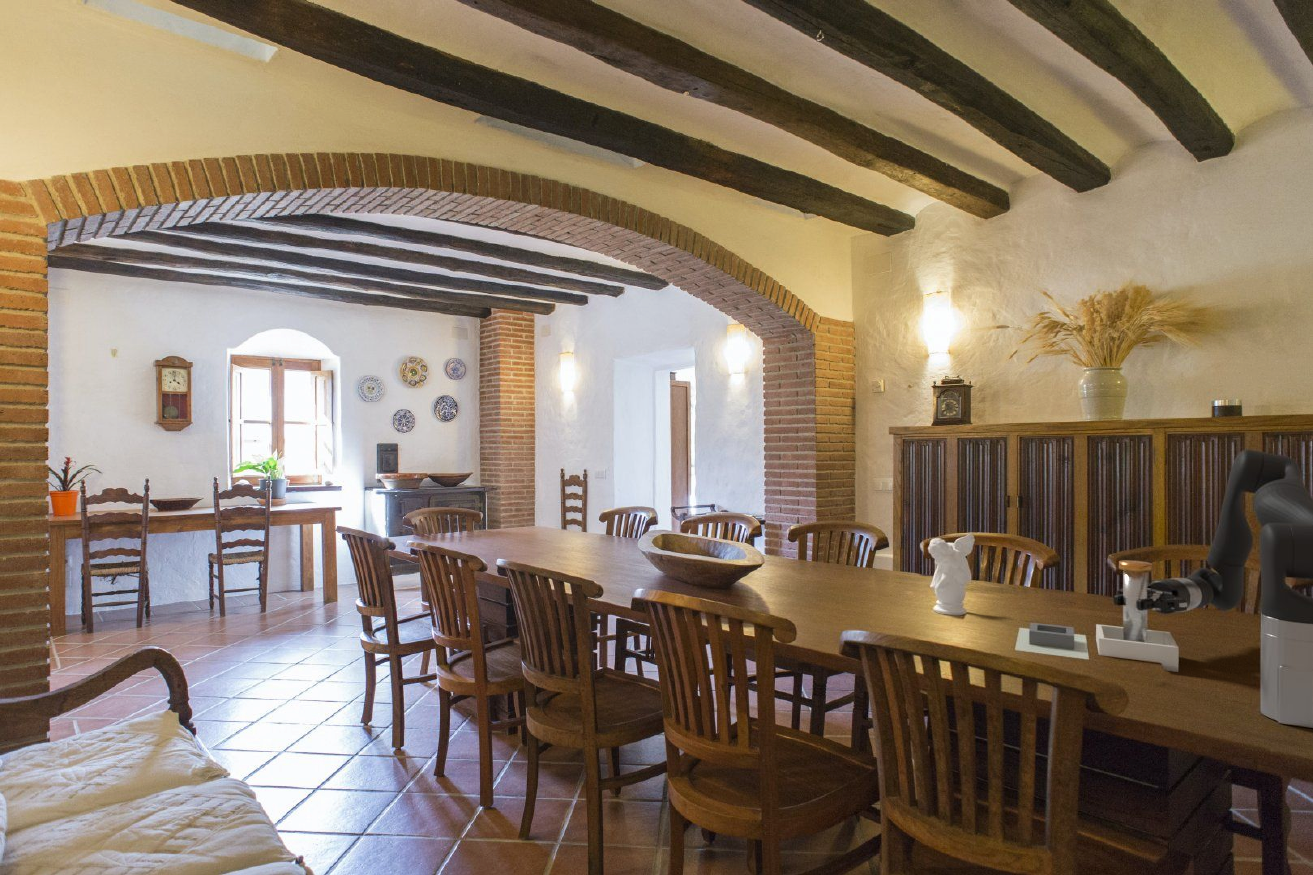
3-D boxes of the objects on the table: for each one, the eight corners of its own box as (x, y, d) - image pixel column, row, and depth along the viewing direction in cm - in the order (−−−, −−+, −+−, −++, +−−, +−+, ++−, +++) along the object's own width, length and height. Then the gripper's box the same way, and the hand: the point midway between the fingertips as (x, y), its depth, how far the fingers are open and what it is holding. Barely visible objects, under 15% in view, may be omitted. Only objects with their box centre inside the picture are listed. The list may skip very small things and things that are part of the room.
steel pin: (1153, 650, 157) (1153, 565, 157) (1119, 646, 160) (1119, 563, 160) (1150, 643, 163) (1150, 561, 163) (1117, 639, 166) (1118, 559, 166)
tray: (1178, 671, 152) (1178, 647, 152) (1098, 661, 159) (1099, 638, 159) (1169, 654, 164) (1169, 632, 164) (1096, 645, 171) (1096, 624, 171)
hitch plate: (1088, 666, 155) (1089, 645, 155) (1014, 656, 162) (1014, 636, 162) (1085, 641, 174) (1085, 622, 174) (1019, 633, 181) (1019, 615, 181)
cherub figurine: (929, 614, 201) (928, 533, 202) (927, 604, 213) (926, 528, 213) (977, 617, 198) (976, 534, 198) (973, 607, 209) (972, 529, 210)
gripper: (1141, 573, 174) (1095, 579, 167) (1208, 584, 161) (1162, 591, 154) (1141, 605, 174) (1095, 613, 167) (1208, 618, 161) (1162, 627, 154)
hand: (1127, 602), depth 160 cm, fingers closed on steel pin, 4 cm apart
